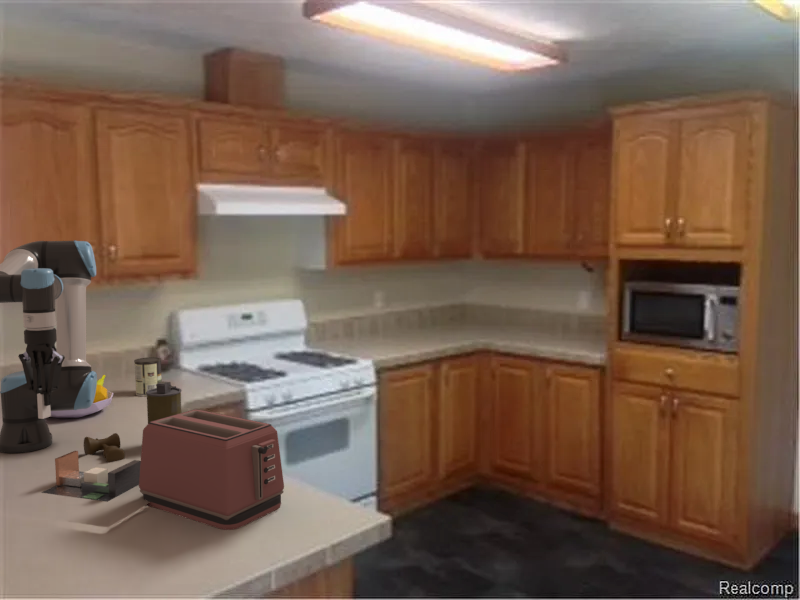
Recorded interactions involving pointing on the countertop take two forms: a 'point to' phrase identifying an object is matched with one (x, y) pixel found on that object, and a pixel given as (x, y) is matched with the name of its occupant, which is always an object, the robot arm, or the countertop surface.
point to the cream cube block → (96, 475)
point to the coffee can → (147, 374)
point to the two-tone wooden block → (68, 470)
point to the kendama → (105, 447)
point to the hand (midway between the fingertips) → (44, 417)
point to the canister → (163, 401)
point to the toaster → (211, 468)
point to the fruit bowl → (99, 403)
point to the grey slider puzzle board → (103, 484)
